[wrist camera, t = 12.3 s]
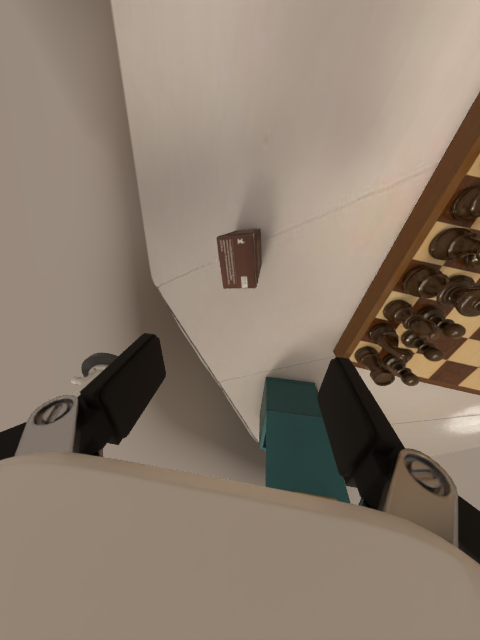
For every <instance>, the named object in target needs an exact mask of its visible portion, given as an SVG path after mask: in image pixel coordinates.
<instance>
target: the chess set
mask: <svg viewBox="0 0 480 640" xmlns="http://www.w3.org/2000/svg"><path fill="white" fill-rule="evenodd" d="M333 352H334V354H335V356H336V357H343V358H349V359H350V360H351V362H352V363H353V365H354V367H359V368H363V369H367V370H370V371H371V373H370V376H371V378H372V380H373V381H374V382H375V383H376V384H377V385H379V386H386V385H389V384H391V383H392V382H393V381H394V380H395V376H398V377H400V378H401V380H402V382H403V383H404V384H406V385H408V386H415V385H417V384H418V383H419V381H420V382H424V383H429V384H433V385H437V386H442V387H446V388H450V389H455V390H459V391H464V392H468V393H472V394H477V395H480V93H479V94H478V96H477V98H476V100H475V102H474V103H473V105H472V107H471V109H470V110H469V112H468V114H467V116H466V117H465V119H464V121H463V123H462V125H461V126H460V128H459V130H458V132H457V133H456V135H455V137H454V139H453V140H452V142H451V144H450V146H449V147H448V149H447V151H446V153H445V155H444V156H443V158H442V160H441V162H440V163H439V165H438V167H437V169H436V170H435V172H434V174H433V176H432V178H431V179H430V181H429V183H428V185H427V186H426V188H425V190H424V192H423V193H422V195H421V197H420V199H419V201H418V202H417V204H416V206H415V208H414V209H413V211H412V213H411V215H410V216H409V218H408V220H407V222H406V223H405V225H404V227H403V229H402V231H401V232H400V234H399V236H398V238H397V239H396V241H395V243H394V245H393V246H392V248H391V250H390V252H389V254H388V255H387V257H386V259H385V261H384V262H383V264H382V266H381V268H380V269H379V271H378V273H377V275H376V277H375V278H374V280H373V282H372V284H371V285H370V287H369V289H368V291H367V292H366V294H365V296H364V298H363V299H362V301H361V303H360V305H359V307H358V308H357V310H356V312H355V314H354V315H353V317H352V319H351V321H350V322H349V324H348V326H347V328H346V330H345V331H344V333H343V335H342V337H341V338H340V340H339V342H338V344H337V345H336V347H335V349H334V351H333Z"/></svg>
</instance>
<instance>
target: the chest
mask: <svg viewBox="0 0 480 640" xmlns="http://www.w3.org/2000/svg"><path fill="white" fill-rule="evenodd" d="M317 396H318V391H317V388H316V385H315V383H309V382H301V381H293V380H285V379H277V378H269V377H266V380H265V386H264V393H263V399H262V405H261V411H260V432H259V449H264V450H266V411H271V412H278V413H286V414H293V415H300V416H307V417H314V418H321V419H323V417H322V414H321V410H320V407H319V404H318V399H317Z"/></svg>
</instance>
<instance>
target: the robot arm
mask: <svg viewBox="0 0 480 640" xmlns="http://www.w3.org/2000/svg"><path fill="white" fill-rule="evenodd" d="M165 375H166V371H165V366H164V361H163V356H162V350H161V345H160V340H159V338H157V336H156V335H154V334H147V333H146V334H145V333H144V334H143V335H142V336H140V337H139V338H138V339H137V340H136V341H135V342H134V343H133V344H132V345H130V346H129V347H128V348H127V349H126V350H125V351H124V352H123V353H122V354H121V355H120V356H118V357H117V358H116V359H115V360H114V361H113V362H112V363H111V364H110V365H105V364H99V365H95V366H94V367H92V368H91V369H90V371H89V374H88V376H87V377H83V378H81V377H73V378H72V379H71V381H70V382H71V383H73V384H80V385H79V387H78V388H77V389H76V390H75V391H74V392H73V393H72V394H70V395H63V396H59V397H56V398H54V399H51V400H49V401H48V402H46V403H44V404H42V405H41V406H40V407H38V408H37V409H36V410H35V411H34V412H33V413H32V414H31V415H30V417H29V418H28V420H27V422H25V423H23V424H20V425H18V426H15V427H13V428H10V429H8V430H5V431H2V432H0V640H480V511H479V510H477V509H476V508H475V507H473V506H472V505H470V504H469V503H468V502H467V501H465V500H464V499H462V498H461V497H460V496H458V493H457V489H456V486H455V484H454V483H453V481H452V479H451V478H450V476H449V475H448V474H447V472H446V471H445V470H444V469H443V468H442V467H441V466H440V465H439V464H438V463H437V462H435V461H434V460H432V459H431V458H430V457H429V456H427V455H425V454H423V453H422V452H420V451H417V450H414V449H405V448H404V446H403V444H402V443H401V441H400V439H399V438H398V436H397V435H396V433H395V431H394V430H393V428H392V426H391V425H390V423H389V422H388V420H387V418H386V417H385V415H384V413H383V412H382V410H381V408H380V407H379V405H378V404H377V402H376V400H375V399H374V397H373V395H372V394H371V392H370V391H369V390H368V388H367V386H366V385H365V383H364V381H363V380H362V378H361V376H360V375H359V373H358V372H357V370H356V368H355V367H354V365H353V363H352V362H351V360H350V359H349V358H343V357H336V358H335V359H332V360H331V361H330V364H329V367H328V369H327V372H326V374H325V377H324V379H323V382H322V384H321V387H320V390H319V392H318V396H317V399H318V404H319V407H320V410H321V414H322V417H323V421H324V424H325V428H326V431H327V435H328V438H329V442H330V445H331V449H332V452H333V455H334V459H335V462H336V466H337V469H338V472H339V474H340V476H343V478H344V481H345V484H346V486H350V487H356V488H358V491H359V494H360V496H361V500H360V503H359V505H353V504H349V503H345V502H340V501H335V500H330V499H326V498H321V497H316V496H311V495H306V494H300V493H295V492H290V491H285V490H280V489H274V488H269V487H264V486H258V485H253V484H248V483H243V482H237V481H231V480H227V479H221V478H216V477H211V476H205V475H200V474H194V473H189V472H184V471H178V470H173V469H166V468H162V467H156V466H151V465H145V464H139V463H134V462H128V461H122V460H117V459H111V458H104V457H103V448H104V446H105V445H106V443H110V444H116V445H119V443H120V442H121V440H122V439H123V438H125V437H127V435H128V434H129V433H130V431H131V430H132V428H133V426H134V425H135V423H136V422H137V420H138V419H139V417H140V415H141V414H142V413H143V411H144V410H145V408H146V406H147V405H148V403H149V402H150V400H151V399H152V397H153V396H154V394H155V393H156V391H157V389H158V388H159V386H160V385H161V383H162V382H163V380H164V378H165Z"/></svg>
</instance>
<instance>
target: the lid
mask: <svg viewBox="0 0 480 640" xmlns="http://www.w3.org/2000/svg"><path fill="white" fill-rule="evenodd" d="M266 487H269V488H274V489H280V490H285V491H290V492H295V493H300V494H306V495H311V496H316V497H321V498H326V499H330V500H335V501H340V502H345V503H349V504H350V500H349V497H348V493H347V489H346V486H345V482H344V478H343V476H340V474H339V472H338V469H337V466H336V462H335V459H334V455H333V452H332V449H331V445H330V442H329V438H328V435H327V431H326V428H325V424H324V421H323V419H321V418H314V417H307V416H300V415H293V414H286V413H278V412H271V411H266Z"/></svg>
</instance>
